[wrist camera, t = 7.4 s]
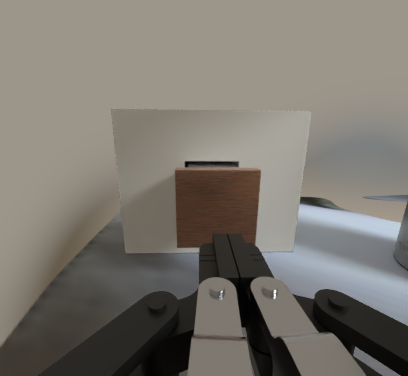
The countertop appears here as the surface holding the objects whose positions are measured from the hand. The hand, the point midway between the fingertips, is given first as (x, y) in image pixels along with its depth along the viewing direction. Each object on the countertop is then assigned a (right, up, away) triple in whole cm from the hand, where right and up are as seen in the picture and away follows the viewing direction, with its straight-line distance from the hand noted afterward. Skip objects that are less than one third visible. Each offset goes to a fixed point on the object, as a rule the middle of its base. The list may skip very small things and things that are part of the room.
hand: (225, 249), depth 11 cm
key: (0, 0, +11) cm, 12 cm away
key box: (-1, -3, +18) cm, 18 cm away
